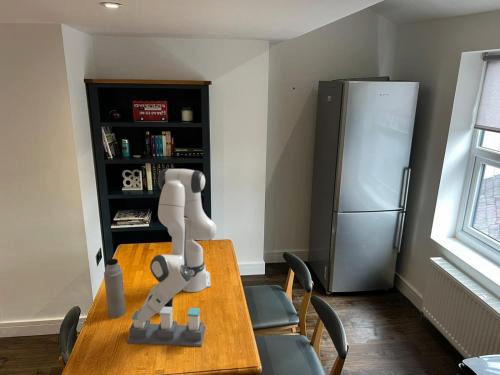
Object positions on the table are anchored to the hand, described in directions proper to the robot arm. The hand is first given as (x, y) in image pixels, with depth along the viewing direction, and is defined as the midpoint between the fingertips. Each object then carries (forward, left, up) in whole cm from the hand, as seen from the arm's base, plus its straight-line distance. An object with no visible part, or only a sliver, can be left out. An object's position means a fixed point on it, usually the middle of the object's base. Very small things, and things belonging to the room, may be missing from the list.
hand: (139, 313), depth 159 cm
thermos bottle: (-14, -16, -11) cm, 24 cm away
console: (0, +12, -11) cm, 16 cm away
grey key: (0, +12, -7) cm, 14 cm away
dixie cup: (-18, +7, -11) cm, 22 cm away
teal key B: (0, +24, -7) cm, 25 cm away
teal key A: (0, 0, -10) cm, 10 cm away
